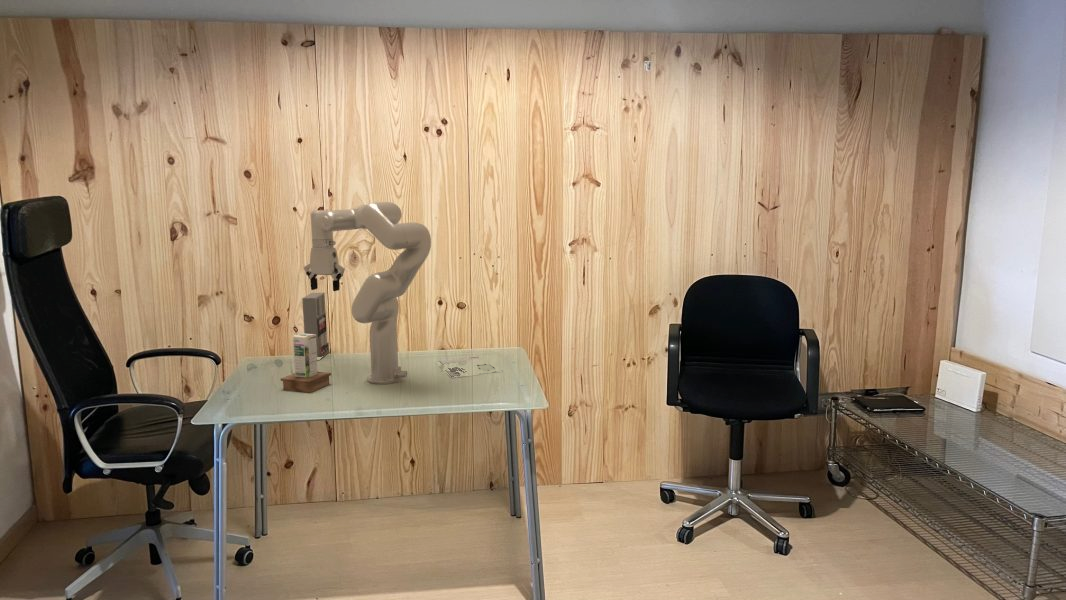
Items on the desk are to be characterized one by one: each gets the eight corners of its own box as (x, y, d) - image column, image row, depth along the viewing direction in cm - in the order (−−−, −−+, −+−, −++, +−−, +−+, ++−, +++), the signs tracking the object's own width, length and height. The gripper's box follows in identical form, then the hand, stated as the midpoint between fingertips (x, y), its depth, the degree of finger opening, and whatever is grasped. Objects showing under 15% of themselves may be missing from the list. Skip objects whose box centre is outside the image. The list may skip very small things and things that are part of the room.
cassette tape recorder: (321, 360, 306) (317, 298, 302) (305, 360, 306) (301, 298, 302) (329, 352, 320) (326, 292, 315) (315, 352, 320) (311, 292, 315)
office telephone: (434, 358, 299) (484, 353, 306) (435, 365, 299) (484, 360, 307) (451, 372, 278) (503, 366, 285) (451, 379, 278) (503, 373, 285)
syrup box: (294, 377, 266) (291, 335, 264) (305, 372, 272) (302, 332, 269) (308, 378, 264) (306, 337, 262) (318, 374, 270) (316, 333, 267)
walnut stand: (331, 383, 272) (331, 372, 271) (310, 393, 261) (309, 381, 260) (303, 380, 276) (302, 370, 275) (281, 389, 265) (280, 378, 264)
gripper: (348, 243, 284) (350, 289, 287) (309, 242, 291) (312, 287, 293) (336, 245, 278) (339, 292, 280) (296, 244, 284) (299, 290, 287)
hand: (325, 290), depth 287 cm, fingers open, 9 cm apart
